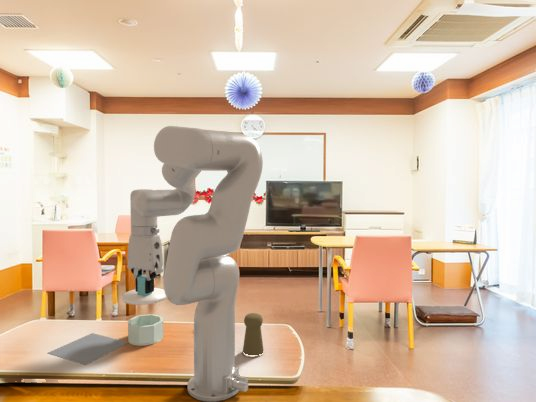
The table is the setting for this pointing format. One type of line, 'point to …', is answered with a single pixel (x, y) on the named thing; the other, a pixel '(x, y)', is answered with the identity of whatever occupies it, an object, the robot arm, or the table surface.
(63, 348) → the mat
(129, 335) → the bowl
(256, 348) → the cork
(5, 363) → the table surface
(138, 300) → the lid
